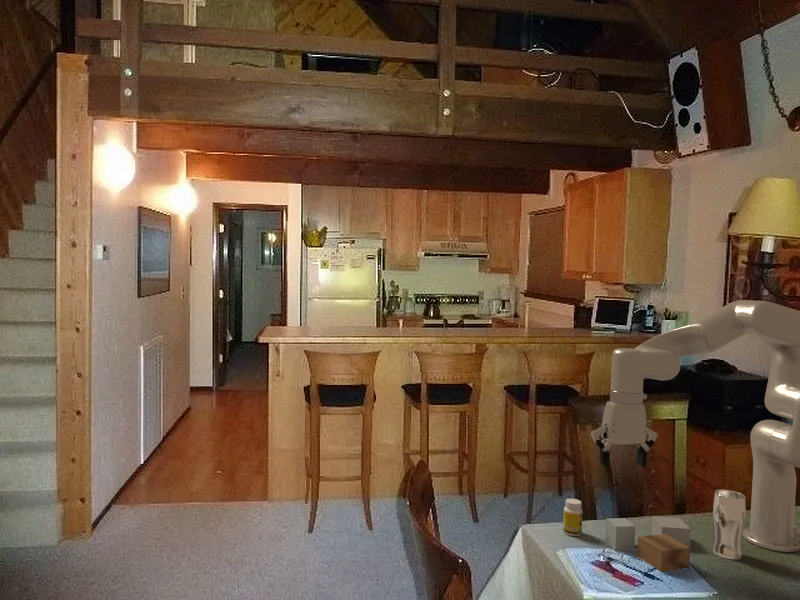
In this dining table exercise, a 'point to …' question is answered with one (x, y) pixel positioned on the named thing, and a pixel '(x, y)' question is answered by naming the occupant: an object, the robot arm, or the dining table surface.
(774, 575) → the dining table surface
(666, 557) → the walnut block
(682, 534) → the grey block
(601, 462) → the robot arm
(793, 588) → the dining table surface
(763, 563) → the dining table surface
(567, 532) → the supplement bottle
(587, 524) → the dining table surface
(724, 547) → the beer glass
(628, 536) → the painted block
